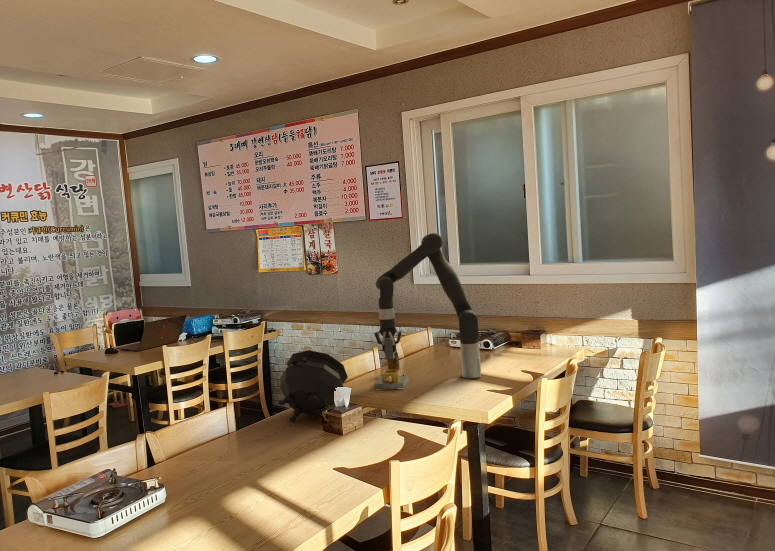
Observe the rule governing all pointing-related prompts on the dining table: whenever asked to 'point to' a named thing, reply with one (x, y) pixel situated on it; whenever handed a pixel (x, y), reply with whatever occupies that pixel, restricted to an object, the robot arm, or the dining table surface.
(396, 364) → the condiment
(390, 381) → the square stand
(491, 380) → the dining table surface
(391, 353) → the gray rectangular block
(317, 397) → the cauldron
